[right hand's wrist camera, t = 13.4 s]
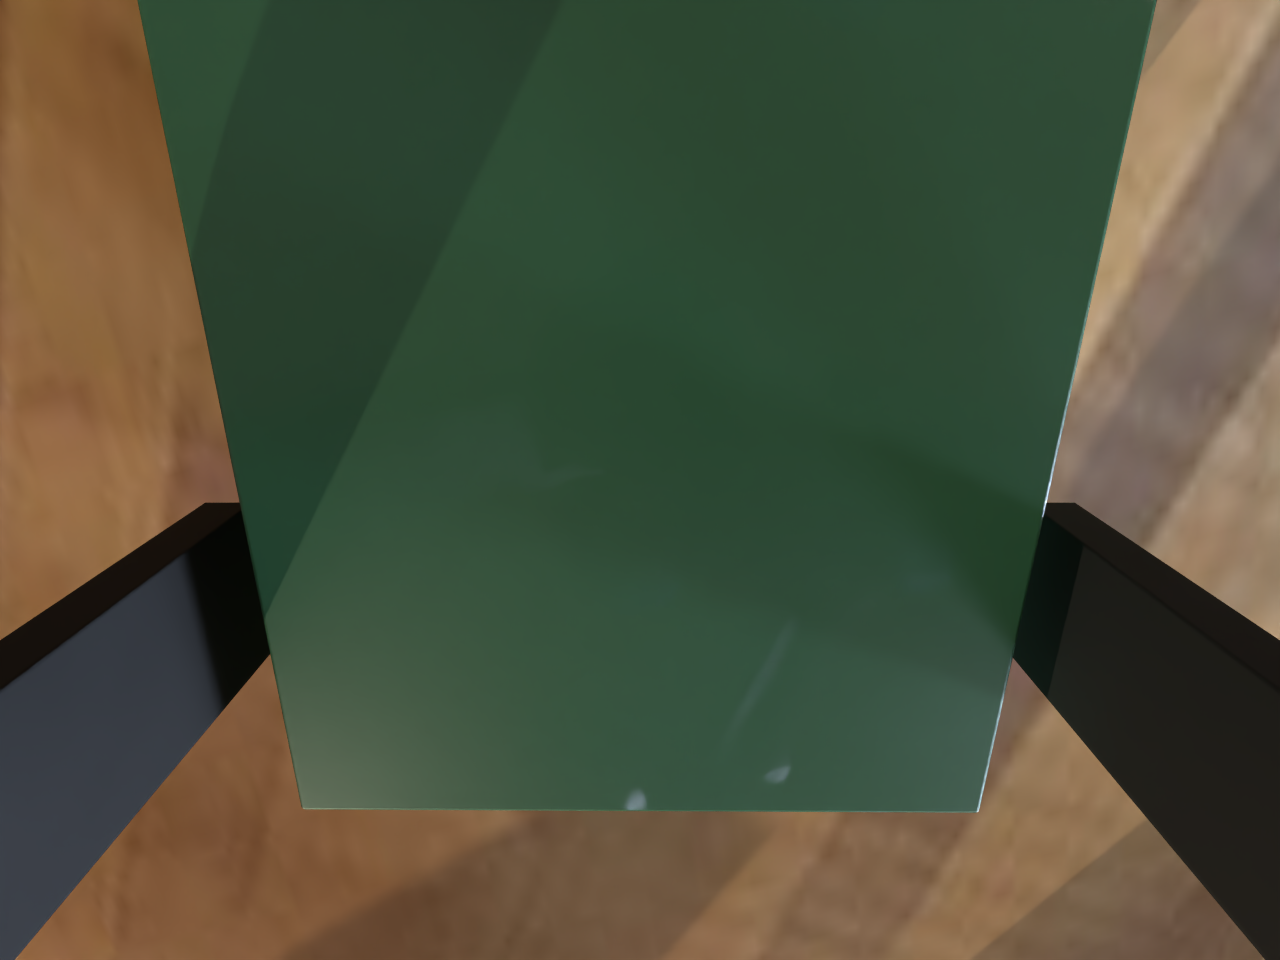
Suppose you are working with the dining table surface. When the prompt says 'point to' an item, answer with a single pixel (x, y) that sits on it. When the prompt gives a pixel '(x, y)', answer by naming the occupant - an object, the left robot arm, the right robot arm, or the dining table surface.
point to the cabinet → (644, 378)
